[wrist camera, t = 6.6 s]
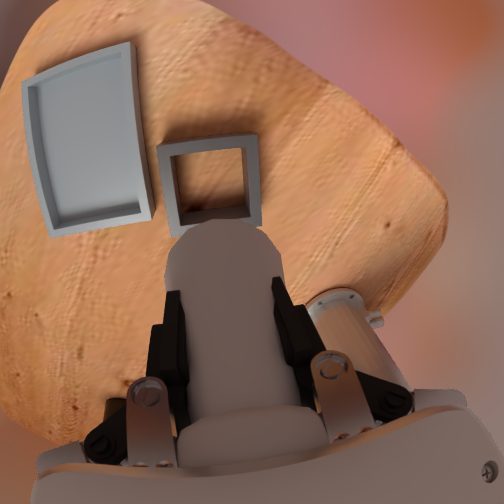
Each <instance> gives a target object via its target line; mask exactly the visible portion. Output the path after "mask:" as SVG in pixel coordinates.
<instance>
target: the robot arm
mask: <svg viewBox="0 0 504 504" xmlns="http://www.w3.org/2000/svg"><path fill="white" fill-rule="evenodd" d="M271 289H272V292H273V296H274V299H275V302H274V310H273V314H274V317H275V321H276V324H277V328H278V332H279V336H280V340H281V344H282V348H283V352H284V356H285V360H286V364H287V365H289V366H291V367H293V370H294V373H295V377H296V380H297V384H298V387H299V391H300V400H301V407H309V408H310V409H312V410H313V411H315V412H316V413H318V414H319V416H320V417H321V418H322V420H323V423H324V426H325V428H326V431H327V434H328V437H329V439H330V444H327V445H323V446H320V447H316V448H313V449H309V450H305V451H301V452H297V453H292V454H288V455H283V456H279V457H274V458H268V459H263V460H257V461H250V462H243V463H236V464H227V465H217V466H205V467H185V468H178V464H177V446H176V444H177V441H178V438H179V435H180V432H181V430H183V429H184V428H186V427H188V426H190V425H191V421H190V417H189V413H188V409H187V402H186V391H185V387H186V386H187V385H188V383H189V382H190V381H189V373H188V363H187V351H186V332H185V312H184V310H183V307H182V304H181V301H180V290H173V291H167V294H166V302H165V310H164V318H163V324H156V325H153V326H152V330H151V337H150V344H149V351H148V360H147V368H146V377H142V378H139V379H137V380H136V381H134V382H133V383H132V384H131V385H130V387H129V388H128V391H127V400H126V404H125V405H124V406H122V407H121V408H120V409H119V410H117V411H116V412H115V413H114V414H112V415H111V416H110V417H109V418H107V419H106V420H105V421H104V422H102V423H101V424H100V425H98V426H97V427H96V428H95V429H93V430H92V431H91V432H90V433H89V434H88V435H87V436H86V438H85V440H84V441H82V442H81V441H79V440H77V441H74V442H72V443H69V444H66V445H63V446H60V447H58V448H55V449H52V450H49V451H45V452H43V453H41V454H40V455H39V456H38V458H37V461H36V468H37V472H38V475H39V476H38V477H37V479H36V481H35V483H34V486H33V490H32V495H31V501H30V504H504V457H503V455H502V453H501V451H500V449H499V447H498V445H497V444H496V442H495V440H494V439H493V437H492V435H491V433H490V432H489V430H488V429H487V427H486V426H485V425H484V423H483V422H482V421H481V419H480V418H479V417H478V416H477V415H476V414H475V413H474V412H473V411H472V410H471V409H469V408H467V403H466V399H465V396H464V395H463V394H462V393H461V392H460V391H458V390H453V389H447V390H446V389H414V390H412V388H411V387H410V385H409V384H408V382H407V381H406V379H405V378H404V376H403V374H402V373H401V371H400V370H399V368H398V367H397V365H396V364H395V362H394V361H393V359H392V357H391V356H390V354H389V353H388V351H387V350H386V348H385V347H384V345H383V344H382V342H381V341H380V339H379V338H378V336H377V335H376V333H375V332H374V330H373V328H374V329H375V328H378V327H382V326H383V325H384V319H383V317H382V316H380V315H381V310H380V309H375V310H372V311H368V310H366V309H365V302H364V300H363V298H362V297H361V296H360V294H359V293H357V292H356V291H354V290H352V289H348V288H337V289H332V290H329V291H326V292H324V293H322V294H320V295H318V296H317V297H315V298H314V299H312V300H311V301H310V302H309V303H308V304H307V305H306V306H305V305H303V304H301V305H296V306H294V305H293V303H292V301H291V299H290V296H289V294H288V292H287V290H286V288H285V285H284V283H283V281H282V279H281V277H280V276H278V277H273V278H272V285H271ZM378 316H379V317H378ZM375 317H376V318H375ZM370 318H372V319H370Z"/></svg>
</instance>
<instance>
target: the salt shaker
mask: <svg viewBox="0 0 504 504" xmlns="http://www.w3.org/2000/svg"><path fill="white" fill-rule="evenodd" d="M278 276H280V277H281V279H282V281H283V283H284V285H285V280H284V273H283V267H282V260H281V254H280V253H279V251H278V250H277V249H276V247H275V246H274V245H273V243H272V242H271V240H270V239H269V238H268V236H267V235H266V234H265V233H264V232H263V231H261V230H259V229H258V228H256V227H254V226H252V225H250V224H248V223H246V222H244V221H242V220H240V219H211V220H209V221H206V222H204V223H202V224H199V225H197V226H194V227H192V228H190V229H187V231H186V232H185V233H184V234H183V235H182V236H181V238H180V239H179V240H178V241H177V242H176V243H175V245H174V246H173V247H172V248H171V250H170V252H169V255H168V260H167V265H166V270H165V275H164V278H165V287H166V294H167V291H173V290H180V301H181V304H182V307H183V310H184V312H185V332H186V351H187V363H188V373H189V381H190V382H189V383H188V385H187V386H186V387H185V391H186V402H187V409H188V413H189V417H190V421H191V425H190V426H188V427H186V428H184V429H183V430H181V432H180V435H179V438H178V441H177V444H176V446H177V464H178V468H185V467H205V466H217V465H227V464H236V463H243V462H250V461H257V460H263V459H268V458H274V457H279V456H283V455H288V454H292V453H297V452H301V451H305V450H309V449H313V448H316V447H320V446H323V445H327V444H330V439H329V437H328V434H327V431H326V428H325V426H324V423H323V420H322V418H321V417H320V416H319V414H318V413H316V412H315V411H313V410H312V409H310V408H309V407H301V400H300V391H299V387H298V384H297V380H296V377H295V373H294V370H293V367H291V366H289V365H287V364H286V360H285V356H284V352H283V348H282V344H281V340H280V336H279V332H278V328H277V324H276V321H275V317H274V314H273V310H274V302H275V299H274V296H273V292H272V289H271V285H272V278H273V277H278ZM285 288H286V287H285Z"/></svg>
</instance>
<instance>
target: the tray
mask: <svg viewBox="0 0 504 504" xmlns="http://www.w3.org/2000/svg"><path fill="white" fill-rule="evenodd" d="M21 86H22V105H23V116H24V126H25V134H26V141H27V147H28V153H29V159H30V164H31V169H32V174H33V178H34V183H35V187H36V191H37V195H38V199H39V203H40V206H41V210H42V213H43V217H44V220H45V223H46V227H47V230H48V233H49V236H50V239H51V238H56V237H60V236H65V235H70V234H75V233H81V232H86V231H91V230H97V229H102V228H108V227H113V226H119V225H125V224H131V223H137V222H143V221H149V220H152V218H153V216H154V213H155V211H156V210H155V205H154V200H153V194H152V189H151V183H150V177H149V171H148V164H147V158H146V151H145V143H144V136H143V127H142V119H141V109H140V99H139V87H138V72H137V53H136V46H134V45H133V44H132V43H131V42H130V41H129V42H125V43H121V44H118V45H114V46H111V47H107V48H104V49H101V50H97V51H94V52H91V53H88V54H85V55H83V56H80V57H77V58H74V59H72V60H69V61H67V62H64V63H62V64H59V65H57V66H54V67H52V68H50V69H48V70H45V71H43V72H41V73H39V74H37V75H35V76H33V77H31V78H29V79H27V80H25V81H23V82H21Z"/></svg>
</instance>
